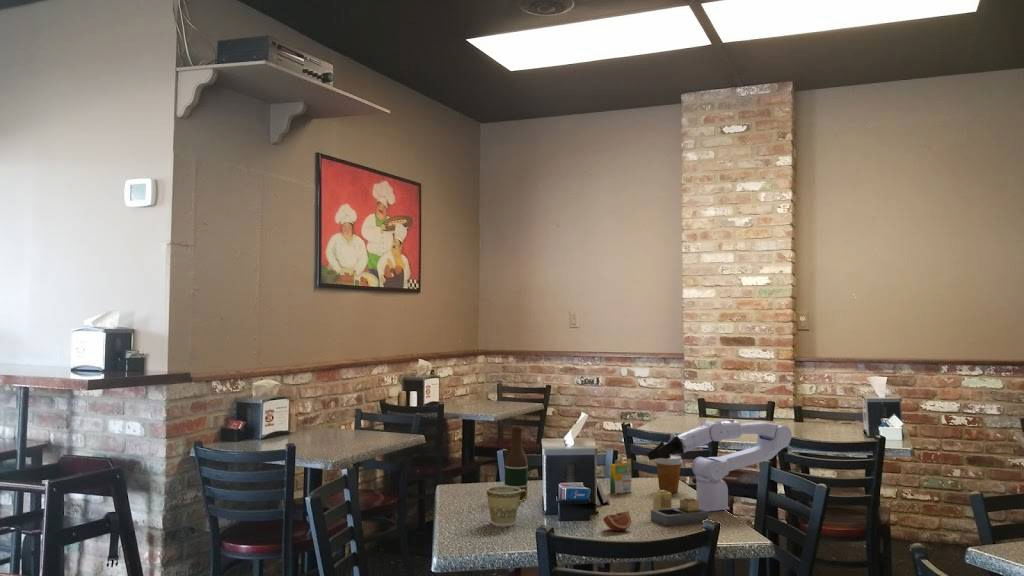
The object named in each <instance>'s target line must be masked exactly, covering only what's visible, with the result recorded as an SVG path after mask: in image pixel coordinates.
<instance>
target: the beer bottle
mask: <svg viewBox="0 0 1024 576" xmlns="http://www.w3.org/2000/svg"><path fill="white" fill-rule="evenodd" d="M510 429H511V440H510V447H509V448H510V449H509V451H508V453H507V455H506V457H505V460H504V486H512V487H517V488H520V489H524V490H526V492H527V493H528V470H529V469H528V468H529V467H528V458H527V455H526V453H525V451H524V450H523V439H522V438H523V437H522V430H523V426H521V425H511V428H510ZM524 497H525V492H524V491H523V492H521V494H520V499H519V500H522V499H523V498H524ZM527 498H528V495H527V496H526V498H525V499H527Z"/></svg>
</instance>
